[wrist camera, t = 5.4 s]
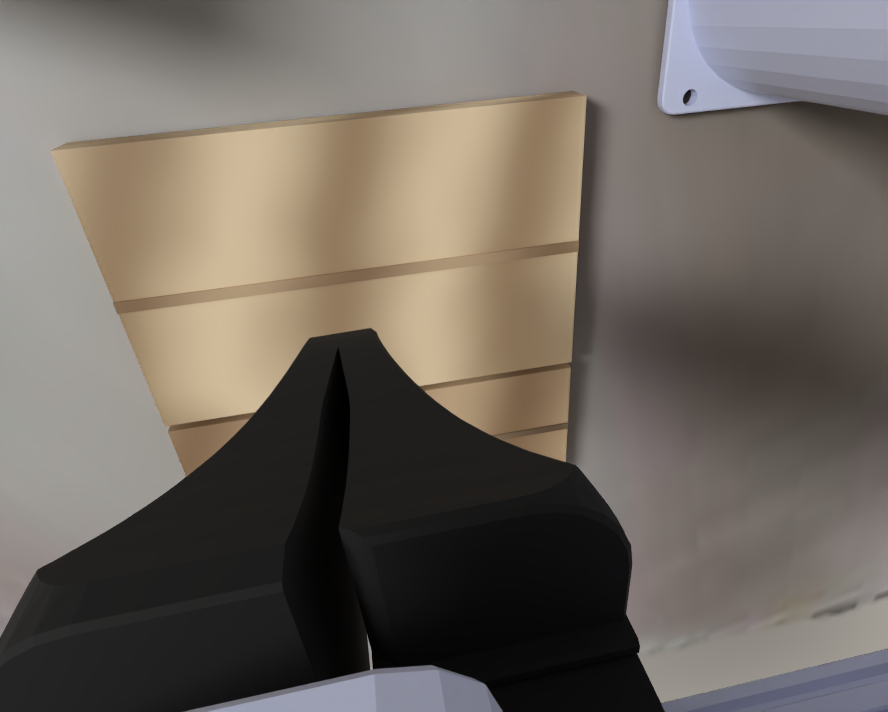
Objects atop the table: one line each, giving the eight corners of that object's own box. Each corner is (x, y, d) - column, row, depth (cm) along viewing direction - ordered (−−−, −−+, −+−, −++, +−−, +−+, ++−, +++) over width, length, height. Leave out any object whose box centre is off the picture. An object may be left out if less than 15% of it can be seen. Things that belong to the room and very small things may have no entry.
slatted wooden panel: (572, 91, 19) (587, 95, 18) (561, 347, 24) (572, 362, 23) (66, 142, 17) (49, 151, 16) (172, 407, 22) (164, 427, 21)
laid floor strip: (560, 353, 24) (571, 368, 23) (556, 458, 28) (565, 476, 26) (175, 413, 23) (167, 433, 22) (217, 519, 26) (212, 540, 25)
